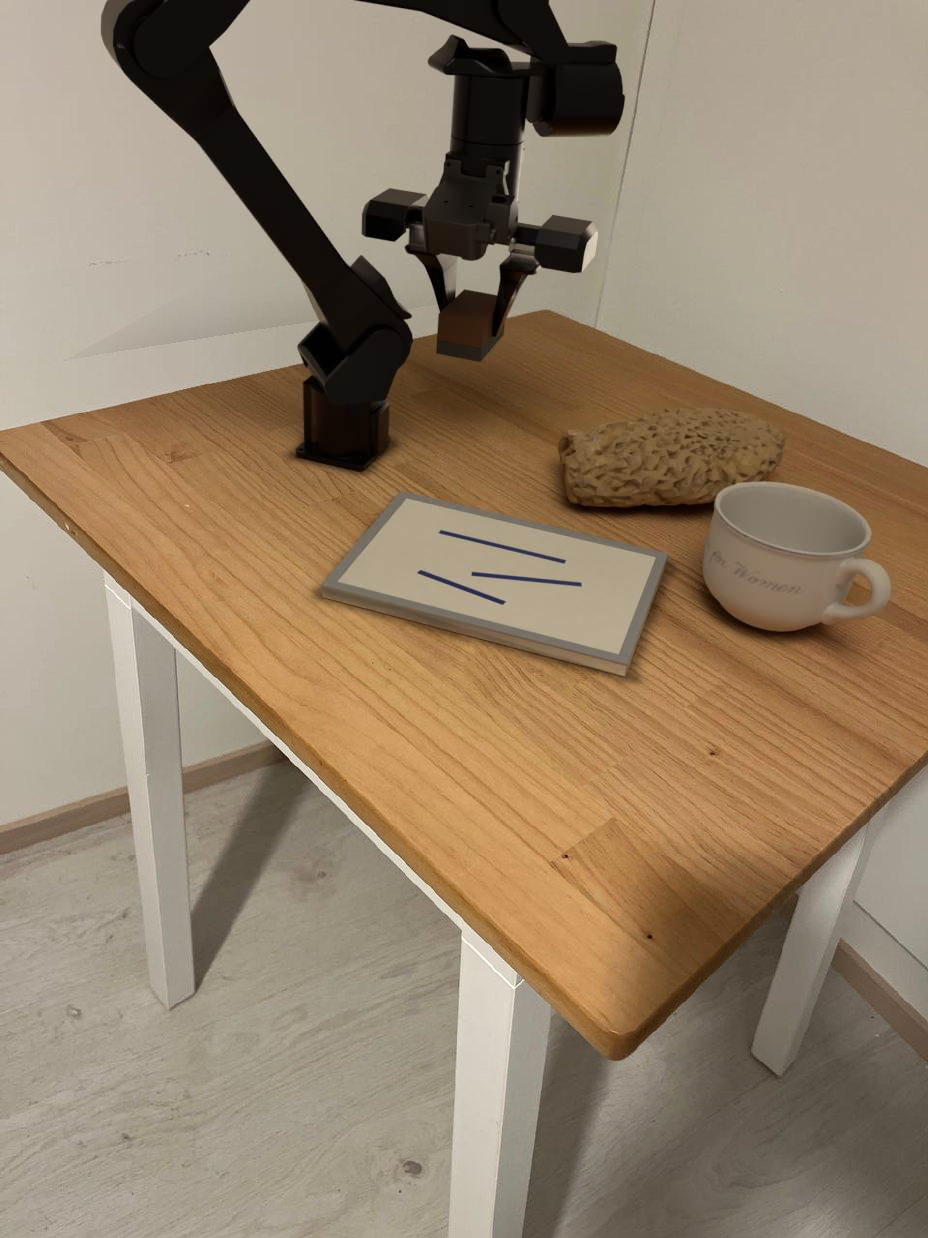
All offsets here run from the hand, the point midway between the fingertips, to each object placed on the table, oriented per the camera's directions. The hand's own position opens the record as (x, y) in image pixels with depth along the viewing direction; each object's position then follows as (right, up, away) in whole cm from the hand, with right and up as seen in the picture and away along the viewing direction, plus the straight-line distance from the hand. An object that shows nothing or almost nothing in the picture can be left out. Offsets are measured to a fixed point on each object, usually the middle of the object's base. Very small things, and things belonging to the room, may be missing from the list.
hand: (471, 330), depth 93 cm
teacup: (+22, -25, -15) cm, 37 cm away
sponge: (+17, -14, 0) cm, 22 cm away
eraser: (0, -1, +1) cm, 1 cm away
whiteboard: (+2, -22, -14) cm, 26 cm away
